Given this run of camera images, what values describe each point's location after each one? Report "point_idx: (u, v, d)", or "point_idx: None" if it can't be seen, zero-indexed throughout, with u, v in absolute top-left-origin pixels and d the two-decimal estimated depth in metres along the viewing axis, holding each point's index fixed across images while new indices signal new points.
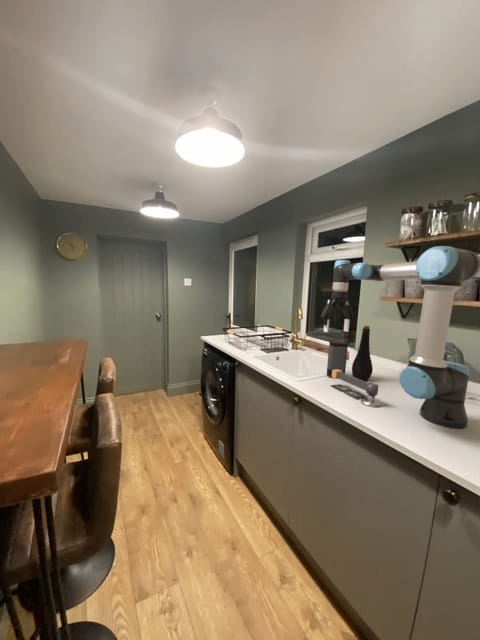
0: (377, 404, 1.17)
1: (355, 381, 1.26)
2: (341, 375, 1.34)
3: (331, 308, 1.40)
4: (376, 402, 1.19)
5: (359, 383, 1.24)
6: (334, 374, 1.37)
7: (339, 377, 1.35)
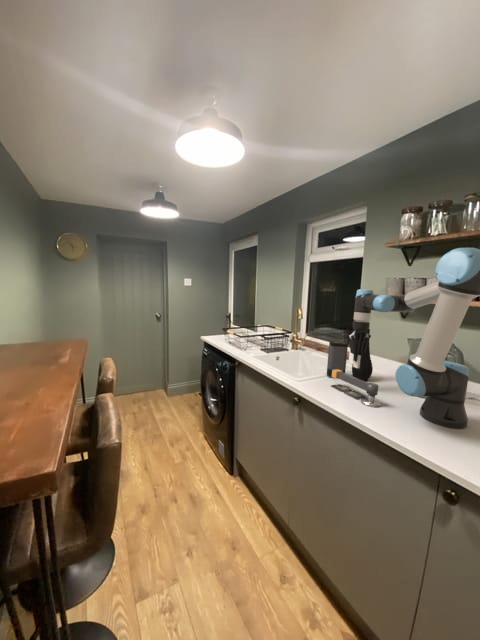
0: (377, 404, 1.17)
1: (355, 381, 1.26)
2: (341, 375, 1.34)
3: (356, 342, 1.35)
4: (376, 402, 1.19)
5: (359, 383, 1.24)
6: (334, 374, 1.37)
7: (339, 377, 1.35)
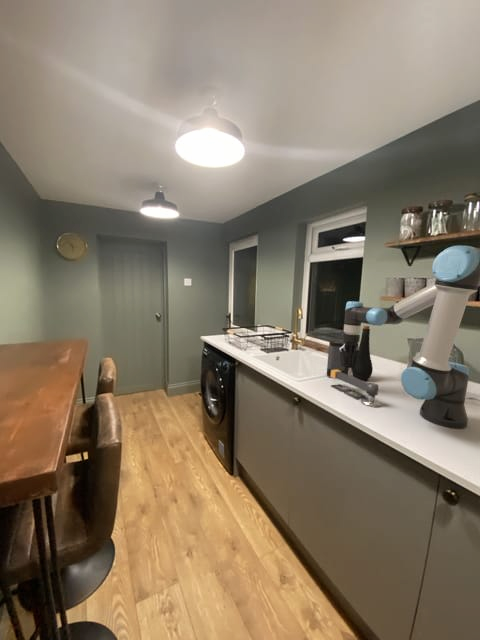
0: (377, 404, 1.17)
1: (355, 381, 1.26)
2: (340, 375, 1.34)
3: (346, 354, 1.33)
4: (376, 402, 1.19)
5: (359, 383, 1.24)
6: (333, 374, 1.37)
7: (338, 377, 1.35)
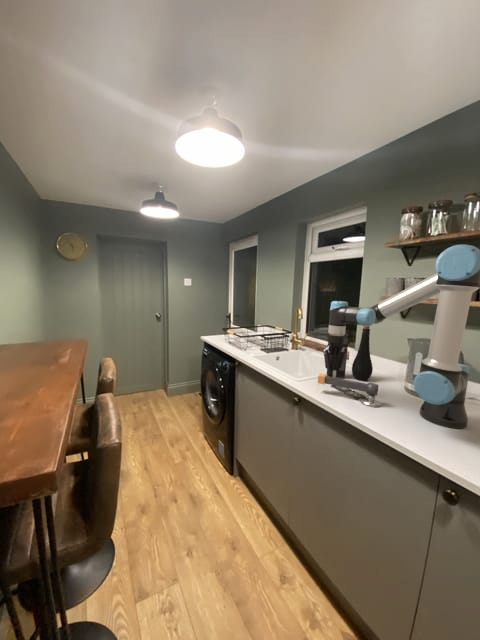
0: (377, 404, 1.17)
1: (351, 383, 1.22)
2: (331, 380, 1.26)
3: (330, 356, 1.28)
4: (376, 402, 1.19)
5: (357, 385, 1.21)
6: (322, 380, 1.27)
7: (328, 382, 1.27)
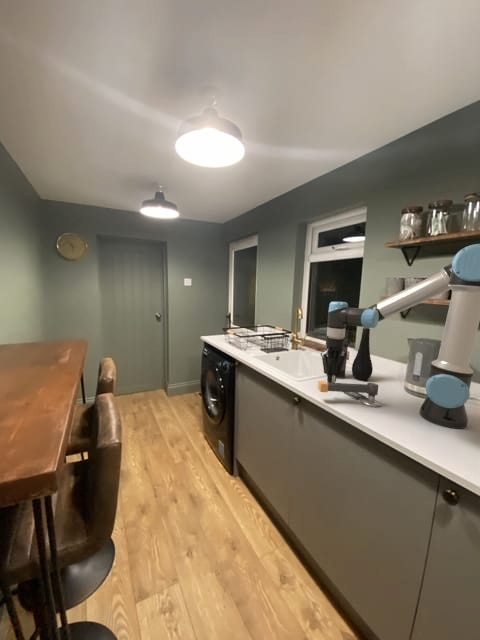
0: (377, 404, 1.17)
1: (354, 387, 1.18)
2: (333, 386, 1.18)
3: (329, 361, 1.20)
4: (376, 402, 1.19)
5: (359, 388, 1.18)
6: (325, 388, 1.17)
7: (330, 389, 1.18)
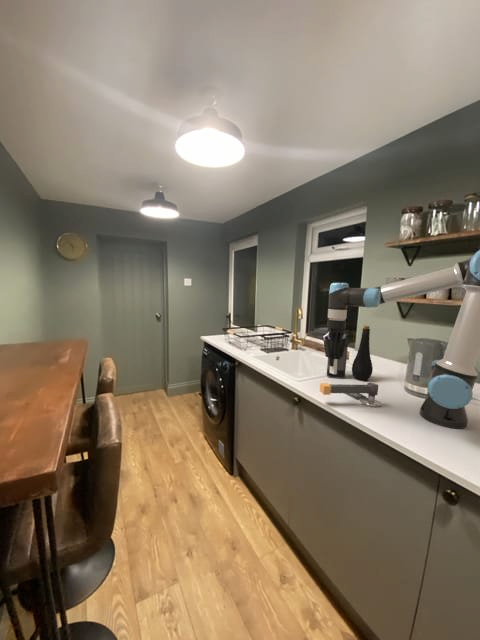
0: (377, 404, 1.17)
1: (356, 388, 1.17)
2: (336, 388, 1.16)
3: (331, 343, 1.17)
4: (376, 402, 1.19)
5: (361, 388, 1.17)
6: (328, 390, 1.14)
7: (333, 391, 1.16)
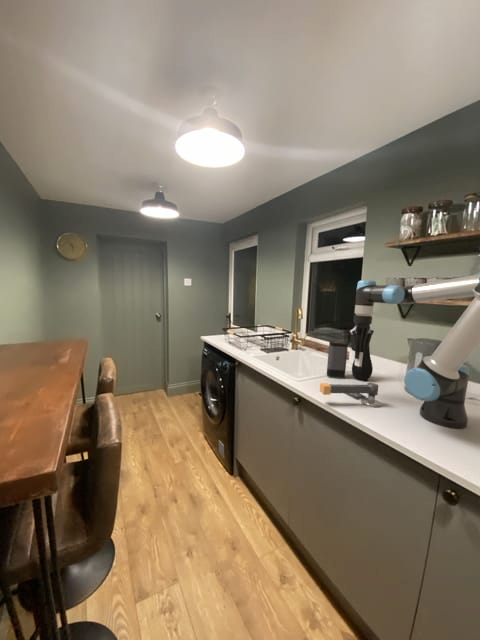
0: (377, 404, 1.17)
1: (356, 388, 1.17)
2: (336, 388, 1.16)
3: (357, 337, 1.24)
4: (376, 402, 1.19)
5: (361, 388, 1.17)
6: (328, 390, 1.14)
7: (333, 391, 1.16)
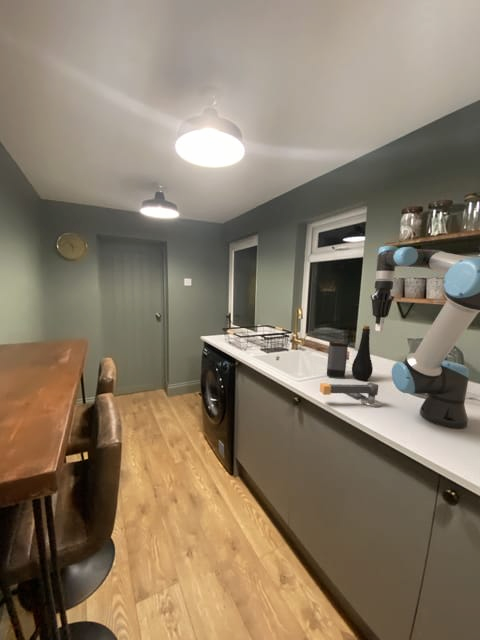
0: (377, 404, 1.17)
1: (356, 388, 1.17)
2: (336, 388, 1.16)
3: (378, 303, 1.28)
4: (376, 402, 1.19)
5: (361, 388, 1.17)
6: (328, 390, 1.14)
7: (333, 391, 1.16)
